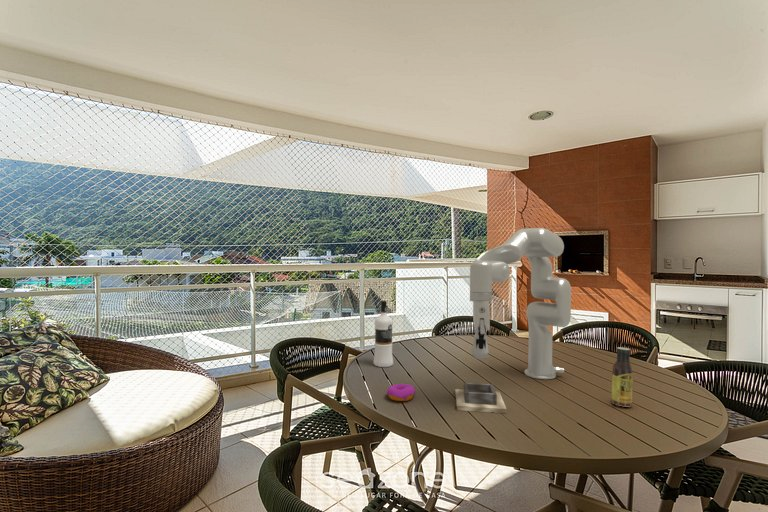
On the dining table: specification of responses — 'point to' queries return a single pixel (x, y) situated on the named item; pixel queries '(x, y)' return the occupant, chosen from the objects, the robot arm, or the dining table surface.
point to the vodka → (383, 338)
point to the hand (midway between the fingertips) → (480, 348)
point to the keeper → (479, 398)
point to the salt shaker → (479, 352)
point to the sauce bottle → (622, 379)
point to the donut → (401, 392)
